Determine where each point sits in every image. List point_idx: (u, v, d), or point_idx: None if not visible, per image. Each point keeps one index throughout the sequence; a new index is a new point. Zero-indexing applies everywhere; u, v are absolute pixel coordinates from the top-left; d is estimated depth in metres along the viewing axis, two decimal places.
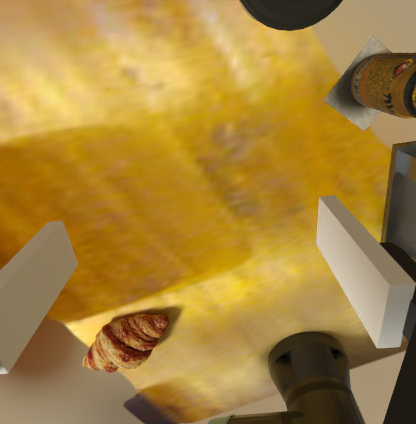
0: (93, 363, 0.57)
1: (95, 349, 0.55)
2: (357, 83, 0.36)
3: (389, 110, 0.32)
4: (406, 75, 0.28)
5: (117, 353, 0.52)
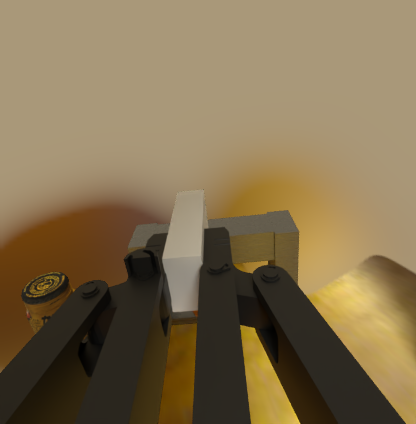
0: None
1: None
2: None
3: None
4: (27, 307, 0.36)
5: None
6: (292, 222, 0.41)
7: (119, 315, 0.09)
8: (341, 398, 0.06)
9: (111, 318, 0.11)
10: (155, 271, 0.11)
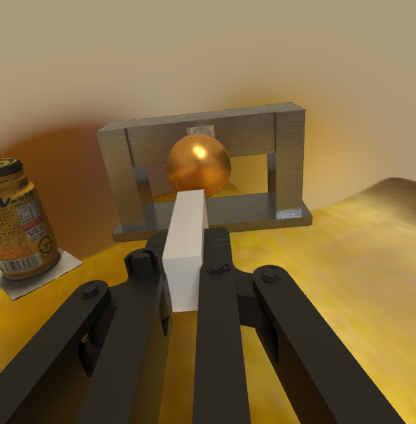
0: None
1: None
2: (7, 264, 0.31)
3: (8, 204, 0.29)
4: None
5: None
6: (297, 106, 0.34)
7: (119, 315, 0.09)
8: (341, 398, 0.06)
9: (111, 318, 0.11)
10: (155, 271, 0.11)
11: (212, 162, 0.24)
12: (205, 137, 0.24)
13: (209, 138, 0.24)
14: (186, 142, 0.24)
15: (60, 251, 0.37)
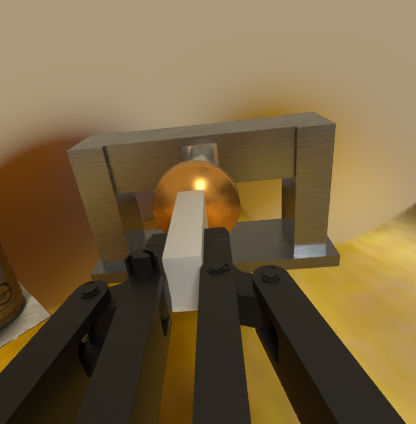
0: None
1: None
2: None
3: None
4: None
5: None
6: (323, 118, 0.26)
7: (119, 315, 0.09)
8: (341, 398, 0.06)
9: (111, 318, 0.11)
10: (155, 271, 0.11)
11: (215, 200, 0.18)
12: (205, 166, 0.17)
13: (211, 168, 0.17)
14: (178, 173, 0.17)
15: (26, 295, 0.30)
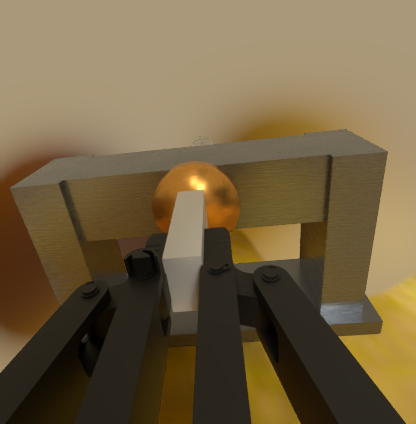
0: None
1: None
2: None
3: None
4: None
5: None
6: (364, 141, 0.19)
7: (119, 315, 0.09)
8: (341, 398, 0.06)
9: (111, 318, 0.11)
10: (155, 271, 0.11)
11: (215, 201, 0.18)
12: (205, 168, 0.17)
13: (211, 169, 0.17)
14: (178, 174, 0.17)
15: None
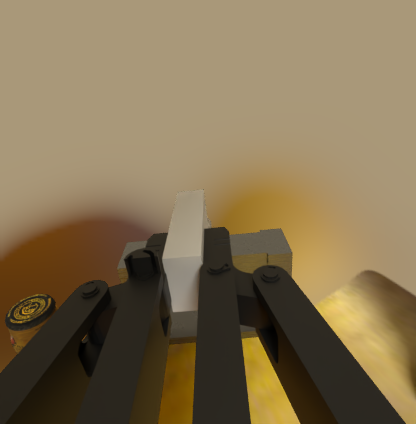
0: None
1: None
2: None
3: None
4: (11, 333, 0.34)
5: None
6: (285, 242, 0.40)
7: (119, 315, 0.09)
8: (341, 398, 0.06)
9: (111, 318, 0.11)
10: (155, 271, 0.11)
11: None
12: None
13: None
14: None
15: None
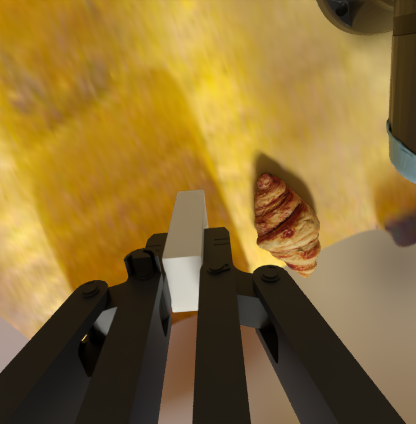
0: (300, 267, 0.50)
1: (279, 258, 0.49)
2: None
3: None
4: None
5: (280, 239, 0.45)
6: None
7: (119, 315, 0.09)
8: (341, 398, 0.06)
9: (111, 318, 0.11)
10: (155, 271, 0.11)
11: None
12: None
13: None
14: None
15: None
